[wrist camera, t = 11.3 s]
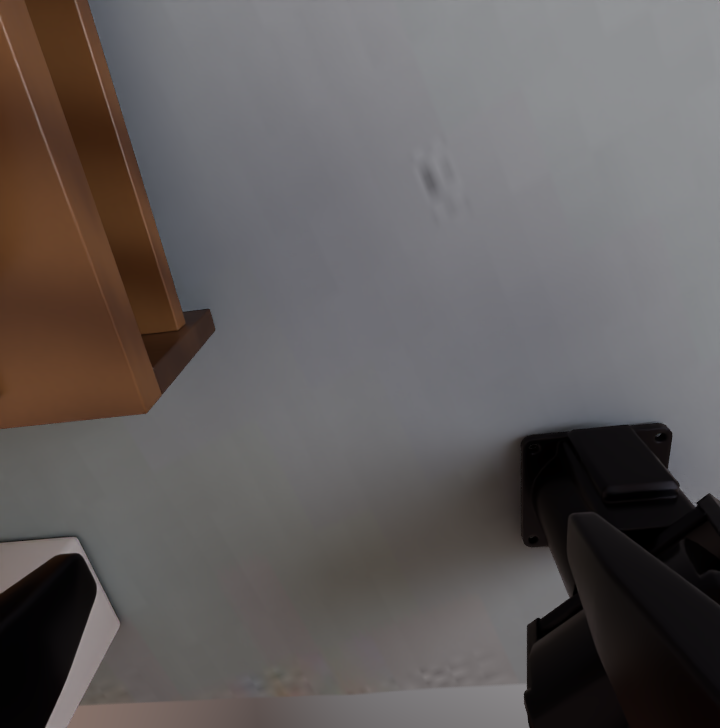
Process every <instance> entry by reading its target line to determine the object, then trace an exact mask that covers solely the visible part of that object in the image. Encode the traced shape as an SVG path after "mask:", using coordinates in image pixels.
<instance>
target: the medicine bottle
mask: <svg viewBox="0 0 720 728" xmlns="http://www.w3.org/2000/svg"><path fill="white" fill-rule="evenodd" d="M68 553H79V554H80V555H82V556H83V558H84V559H85V561H86V563H87V565H88V567H89V569H90V571H91V573H92V575H93V577H94V579H95V581H96V585H97V593H96V598H95V601H94V604H93V607H92V609H91V612H90V615H89V618H88V621H87V624H86V627H85V629H84V632H83V635H82V638H81V641H80V644H79V647H78V649H77V652H76V655H75V658H74V661H73V664H72V667H71V669H70V672H69V674H68V677H67V680H66V682H65V684H64V687H63V689H62V692H61V694H60V696H59V698H58V701H57V703H56V705H55V707H54V709H53V712H52V714H51V716H50V718H49V720H48V723H47V725H46V727H45V728H67V726H68V724H69V722H70V720H71V718H72V716H73V715H74V713H75V711H76V709H77V707H78V705H79V703H80V701H81V699H82V697H83V696H84V694H85V692H86V690H87V688H88V686H89V684H90V682H91V680H92V678H93V676H94V675H95V673H96V671H97V669H98V667H99V665H100V663H101V661H102V659H103V657H104V656H105V654H106V652H107V650H108V648H109V646H110V644H111V642H112V640H113V638H114V636H115V635H116V633H117V631H118V629H119V627H120V621H119V619H118V617H117V615H116V613H115V612H114V610H113V608H112V606H111V604H110V602H109V600H108V598H107V596H106V594H105V592H104V590H103V588H102V586H101V584H100V582H99V580H98V578H97V576H96V574H95V572H94V570H93V568H92V566H91V564H90V562H89V560H88V558H87V556H86V554H85V552H84V550H83V548H82V546H81V544H80V542H79V540H78V539H77V538H76V537H63V538H51V539H40V540H28V541H16V542H5V543H0V594H1V593H2V592H4V591H5V590H7V589H8V588H9V587H11V586H12V585H14V584H15V583H17V582H18V581H19V580H21V579H22V578H24V577H25V576H27V575H28V574H29V573H31V572H32V571H34V570H35V569H37V568H38V567H39V566H41V565H42V564H44V563H45V562H47V561H48V560H49V559H51V558H52V557H54V556H56V555H59V554H68Z"/></svg>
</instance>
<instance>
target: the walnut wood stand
mask: <svg viewBox="0 0 720 728" xmlns="http://www.w3.org/2000/svg"><path fill="white" fill-rule="evenodd" d="M214 331H215V326H214V323H213V319H212V315H211V312H210V309H205V310H197V311H189V312H182V309H181V306H180V302H179V299H178V296H177V293H176V289H175V286H174V283H173V279H172V276H171V273H170V270H169V266H168V263H167V260H166V256H165V253H164V250H163V247H162V243H161V240H160V237H159V234H158V230H157V227H156V224H155V220H154V217H153V214H152V211H151V207H150V204H149V201H148V197H147V194H146V191H145V188H144V184H143V181H142V178H141V174H140V171H139V168H138V165H137V161H136V158H135V155H134V151H133V148H132V145H131V142H130V138H129V135H128V132H127V129H126V125H125V122H124V119H123V115H122V112H121V109H120V106H119V102H118V99H117V96H116V92H115V89H114V86H113V83H112V79H111V76H110V73H109V69H108V66H107V63H106V60H105V56H104V53H103V50H102V46H101V43H100V40H99V37H98V33H97V30H96V27H95V24H94V20H93V17H92V14H91V10H90V7H89V4H88V1H87V0H0V429H5V428H15V427H24V426H34V425H43V424H53V423H62V422H71V421H81V420H90V419H100V418H109V417H119V416H128V415H138V414H146V413H148V411H149V410H150V409H151V408H152V406H153V405H154V404H155V403H156V402H157V400H158V399H159V398H160V397H161V394H163V393H164V392H165V391H166V389H167V388H168V387H169V386H170V385H171V383H172V382H173V381H174V380H175V379H176V377H177V376H178V375H179V374H180V373H181V371H182V370H183V369H184V368H185V366H186V365H187V364H188V363H189V362H190V360H191V359H192V358H193V357H194V356H195V354H196V353H197V352H198V351H199V350H200V348H201V347H202V346H203V345H204V343H205V342H206V341H207V340H208V339H209V337H210V336H211V335H212V334H213V333H214Z"/></svg>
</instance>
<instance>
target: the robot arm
mask: <svg viewBox="0 0 720 728" xmlns="http://www.w3.org/2000/svg"><path fill="white" fill-rule="evenodd" d="M658 433H661V435H660V436H658V437H655V436H656V435H657V434H658ZM671 442H672V432H671V431H670V430H669V429H668V428H667V426H666V425H664V424H662V423H653V424H642V425H632V426H629V425H620V426H610V427H599V428H588V429H578V430H572V431H568V432H558V433H547V434H536V435H530V436H527V437H525V438H524V439H523V440H522V442H521V536H522V539H523V542H524V544H525V545H526V546H528V547H545V546H549V548H550V550H551V553H552V555H553V558H554V560H555V563H556V565H557V568H558V570H559V573H560V575H561V578H562V580H563V583H564V585H565V588H566V590H567V593H568V595H569V597H570V598H569V599H568V600H566V601H565V602H564V603H562V604H561V605H560V606H558V607H557V608H555V609H554V610H553V611H551V612H550V613H548V614H547V615H546V616H544V617H543V618H542V619H540V618H537V619H535V620H534V621H533V622H531V623H530V624H528V625H527V690H526V691H525V693H524V704H525V708H526V711H527V715H528V723H529V727H530V728H720V501H719V500H718V499H717V498H715V497H714V496H713V495H711V494H710V493H709V494H708V495H706V496H705V497H703V498H702V499H701V500H699V501H698V502H697V505H698V506H697V507H695V506H694V505H693V504H692V503H691V502H690V500H689V499H688V498H687V497H686V496H685V494H684V493H683V492H682V491H681V490H680V488H679V486H680V485H679V483H678V481H677V480H676V479H675V478H674V477H673V475H672V474H671V473H670V472H669V471H668V470H667V469H668V463H669V456H670V449H671ZM533 444H536V445H537V446H536V447H535V448H532V449H530V448H529V447H530V446H531V445H533ZM531 536H535V537H533V538H530V537H531ZM96 593H97V585H96V581H95V579H94V577H93V575H92V573H91V571H90V569H89V567H88V565H87V563H86V561H85V559H84V558H83V556H82V555H80V554H79V553H68V554H59V555H56V556H54V557H52V558H51V559H49V560H48V561H47V562H45V563H44V564H42V565H41V566H39V567H38V568H37V569H35V570H34V571H32V572H31V573H29V574H28V575H27V576H25V577H24V578H22V579H21V580H19V581H18V582H17V583H15V584H14V585H12V586H11V587H9V588H8V589H7V590H5V591H4V592H2V593H1V594H0V728H45V727H46V725H47V723H48V720H49V718H50V716H51V714H52V712H53V709H54V707H55V705H56V703H57V701H58V698H59V696H60V694H61V692H62V689H63V687H64V684H65V682H66V680H67V677H68V674H69V672H70V669H71V667H72V664H73V661H74V658H75V655H76V652H77V649H78V647H79V644H80V641H81V638H82V635H83V632H84V629H85V627H86V624H87V621H88V618H89V615H90V612H91V609H92V607H93V604H94V601H95V598H96Z"/></svg>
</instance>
